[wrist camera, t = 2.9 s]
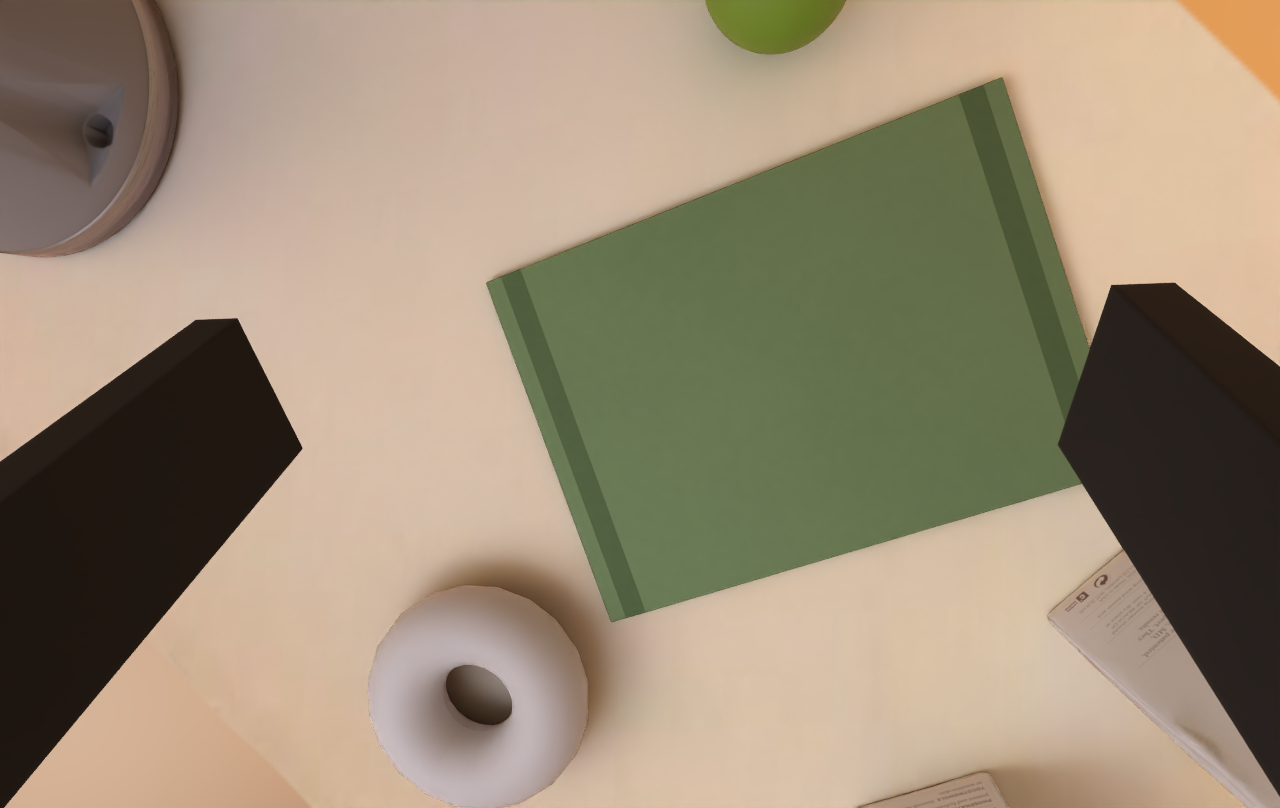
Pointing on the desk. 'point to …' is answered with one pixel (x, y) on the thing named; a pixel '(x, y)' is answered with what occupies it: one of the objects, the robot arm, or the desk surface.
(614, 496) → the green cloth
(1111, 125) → the desk surface
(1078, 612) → the supplement box
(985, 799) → the product box
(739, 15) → the snail figurine
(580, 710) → the donut
